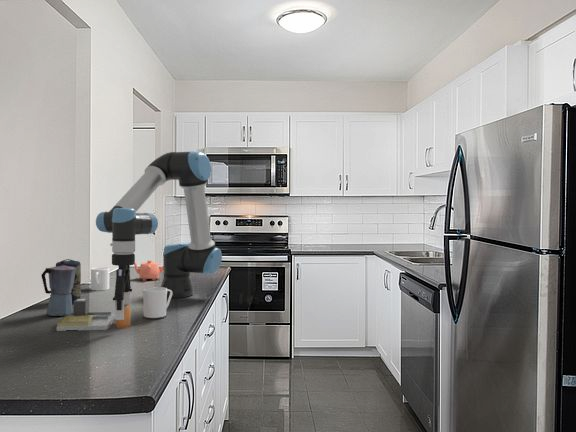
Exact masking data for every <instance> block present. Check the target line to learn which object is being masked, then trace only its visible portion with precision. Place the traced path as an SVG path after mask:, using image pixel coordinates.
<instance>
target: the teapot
mask: <svg viewBox="0 0 576 432" xmlns="http://www.w3.org/2000/svg"><path fill="white" fill-rule="evenodd" d="M152 261H153V260H147V261H145V262H141V263H140V267H138V264H137V262H135V264H133V265H134V270H135V272H136V273H137V274H138V276H139V279H140V280H141V279H142V282H145V281H147V279H151V281H157V279H159V278H160V273H163V266H161V267H160V268H159V264H158V262H157V261H154V262H152Z"/></svg>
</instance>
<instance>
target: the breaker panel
mask: <svg viewBox="0 0 576 432" xmlns="http://www.w3.org/2000/svg"><path fill="white" fill-rule="evenodd" d="M114 321H115V312H114V313H113V312H111V311H97V312H96V311H95V312H94V311H92V312H90V311H88V315H77V316H73V313H70V314H69V315H66V316H62V317H61V319H60V320H59V321H57V325H56V332H67V331H66V330H78V331H107V330H109V328H110V327H111V326H112V324H113V322H114Z"/></svg>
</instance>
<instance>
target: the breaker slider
mask: <svg viewBox="0 0 576 432" xmlns="http://www.w3.org/2000/svg"><path fill="white" fill-rule="evenodd" d="M72 310H73V316H77V315H88V312H89V299H88V298H81V299H76V300H75V301H74V302H73V303H72Z"/></svg>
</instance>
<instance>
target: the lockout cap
mask: <svg viewBox="0 0 576 432" xmlns="http://www.w3.org/2000/svg"><path fill="white" fill-rule="evenodd" d="M131 309H132V307H131V305H128V304H124V320H115V328H116V327H117V329H128V328H130V327H131V326H132V325H131V313H132V312H131ZM127 327H128V328H127Z"/></svg>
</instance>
